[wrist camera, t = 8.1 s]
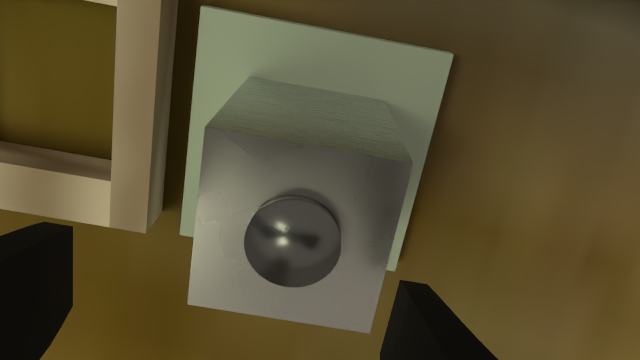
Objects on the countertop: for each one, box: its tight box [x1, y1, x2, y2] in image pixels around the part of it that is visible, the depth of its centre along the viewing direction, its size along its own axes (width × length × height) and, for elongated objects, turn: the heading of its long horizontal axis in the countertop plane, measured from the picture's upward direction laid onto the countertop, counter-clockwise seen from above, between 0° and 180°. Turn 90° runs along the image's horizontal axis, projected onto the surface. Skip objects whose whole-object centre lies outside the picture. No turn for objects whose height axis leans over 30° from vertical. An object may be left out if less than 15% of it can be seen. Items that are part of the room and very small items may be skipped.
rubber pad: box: [180, 5, 454, 271], centre depth 20 cm, size 9×9×1 cm
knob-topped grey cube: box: [187, 76, 414, 333], centre depth 16 cm, size 5×5×7 cm
